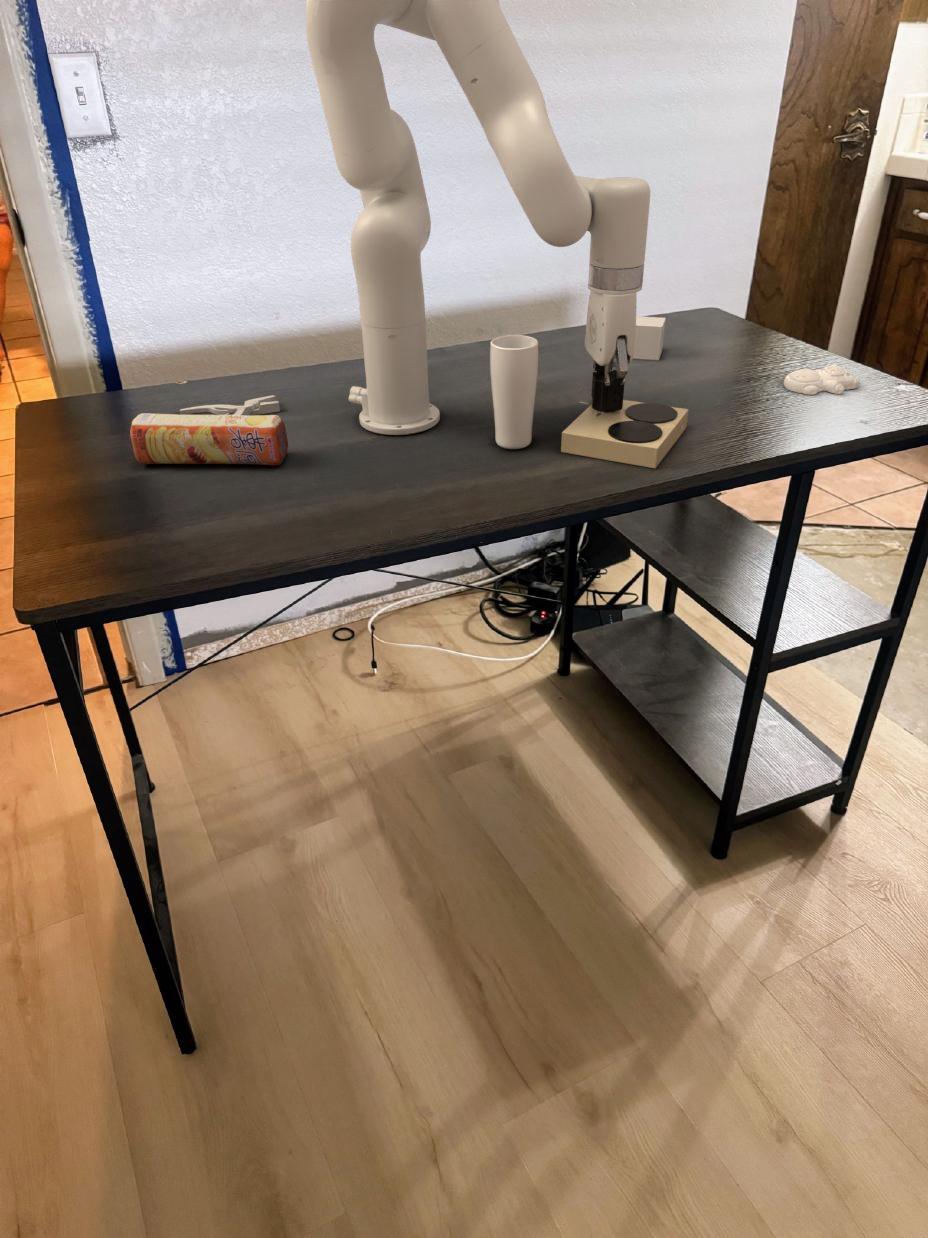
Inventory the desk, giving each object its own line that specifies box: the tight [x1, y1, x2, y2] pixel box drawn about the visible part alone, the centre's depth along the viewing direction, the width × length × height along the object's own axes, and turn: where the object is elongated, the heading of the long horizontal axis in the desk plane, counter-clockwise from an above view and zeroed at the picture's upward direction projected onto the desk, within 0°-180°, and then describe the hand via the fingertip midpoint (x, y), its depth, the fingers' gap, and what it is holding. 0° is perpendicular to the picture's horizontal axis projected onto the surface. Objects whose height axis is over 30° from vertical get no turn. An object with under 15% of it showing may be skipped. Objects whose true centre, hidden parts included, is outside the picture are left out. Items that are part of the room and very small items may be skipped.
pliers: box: [179, 395, 281, 416], centre depth 141 cm, size 10×2×15 cm
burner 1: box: [625, 402, 678, 424], centre depth 130 cm, size 8×8×1 cm
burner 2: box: [608, 421, 663, 443], centre depth 124 cm, size 8×8×1 cm
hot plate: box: [560, 399, 689, 469], centre depth 129 cm, size 16×16×3 cm
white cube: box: [633, 315, 667, 361], centre depth 161 cm, size 6×6×6 cm
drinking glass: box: [489, 334, 540, 450], centre depth 125 cm, size 7×7×15 cm
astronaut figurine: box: [783, 363, 861, 396], centre depth 146 cm, size 9×12×3 cm
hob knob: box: [591, 373, 617, 412], centre depth 131 cm, size 4×4×5 cm
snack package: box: [129, 412, 289, 466], centre depth 125 cm, size 21×7×7 cm, turn 87°
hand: (606, 402), depth 132 cm, fingers closed on hob knob, 4 cm apart
